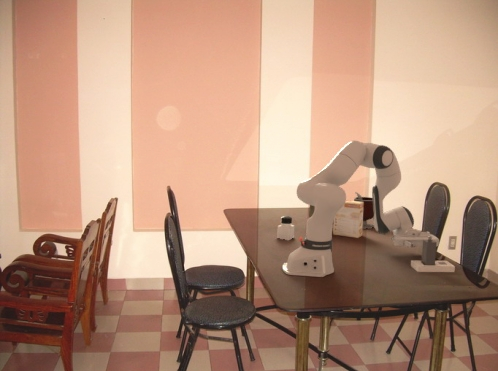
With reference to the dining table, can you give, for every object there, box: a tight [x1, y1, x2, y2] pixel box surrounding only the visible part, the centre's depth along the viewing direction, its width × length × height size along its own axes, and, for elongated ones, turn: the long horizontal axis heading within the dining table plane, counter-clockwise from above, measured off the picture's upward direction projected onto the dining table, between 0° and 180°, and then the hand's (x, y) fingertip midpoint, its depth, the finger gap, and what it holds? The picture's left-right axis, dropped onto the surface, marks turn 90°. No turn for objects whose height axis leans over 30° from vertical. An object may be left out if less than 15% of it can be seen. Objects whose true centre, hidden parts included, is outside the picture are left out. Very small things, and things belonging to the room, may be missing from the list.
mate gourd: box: [353, 191, 374, 229], centre depth 295 cm, size 16×14×20 cm
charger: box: [421, 236, 437, 265], centre depth 209 cm, size 4×5×14 cm
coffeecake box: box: [332, 199, 364, 239], centre depth 272 cm, size 15×7×20 cm, turn 59°
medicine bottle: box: [276, 215, 296, 241], centre depth 263 cm, size 7×7×12 cm
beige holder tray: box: [410, 260, 456, 273], centre depth 210 cm, size 16×8×4 cm, turn 92°
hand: (422, 245), depth 217 cm, fingers open, 8 cm apart
